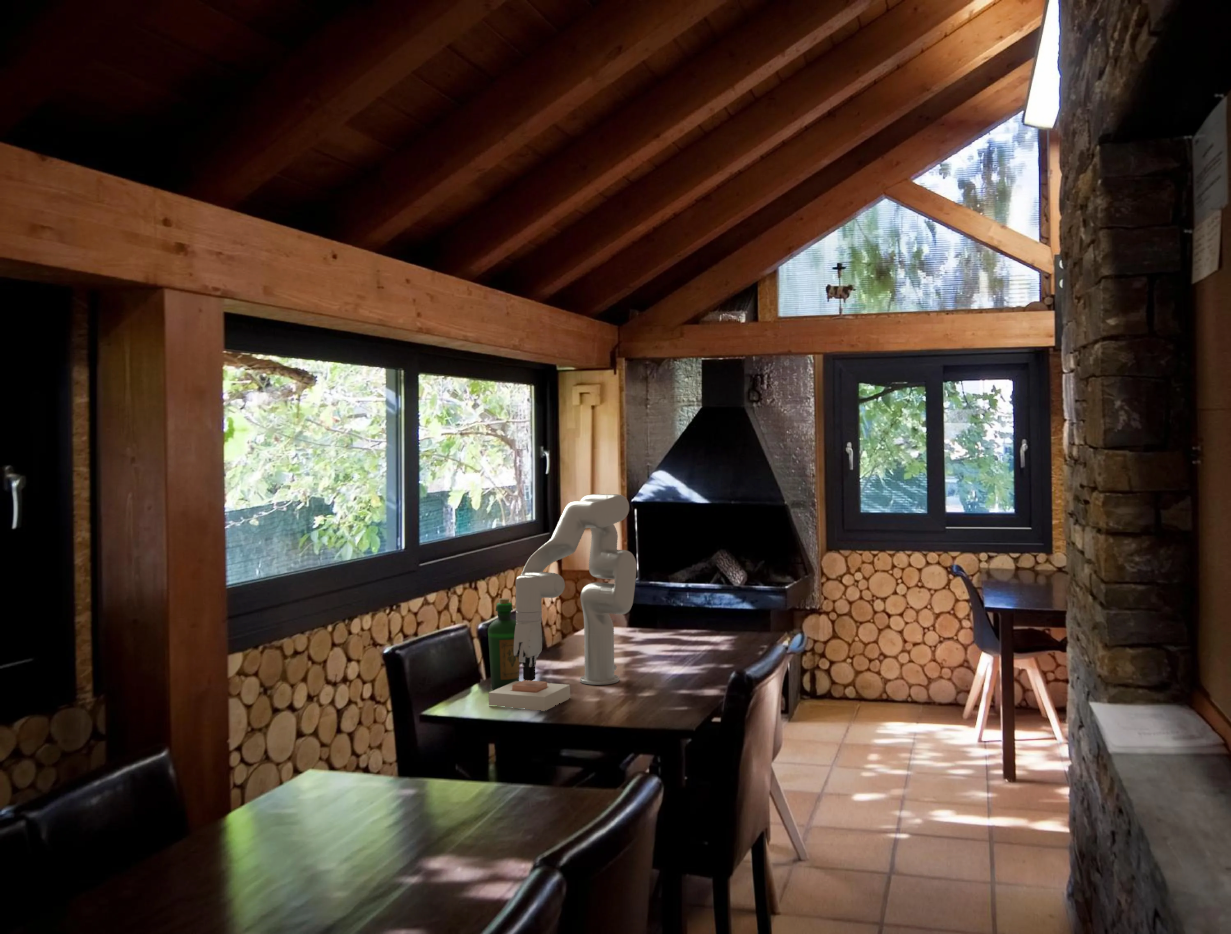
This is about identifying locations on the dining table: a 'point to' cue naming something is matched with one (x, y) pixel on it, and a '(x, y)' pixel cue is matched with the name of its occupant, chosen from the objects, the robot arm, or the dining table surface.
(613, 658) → the robot arm
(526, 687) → the button
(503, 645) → the bottle
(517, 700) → the panel
